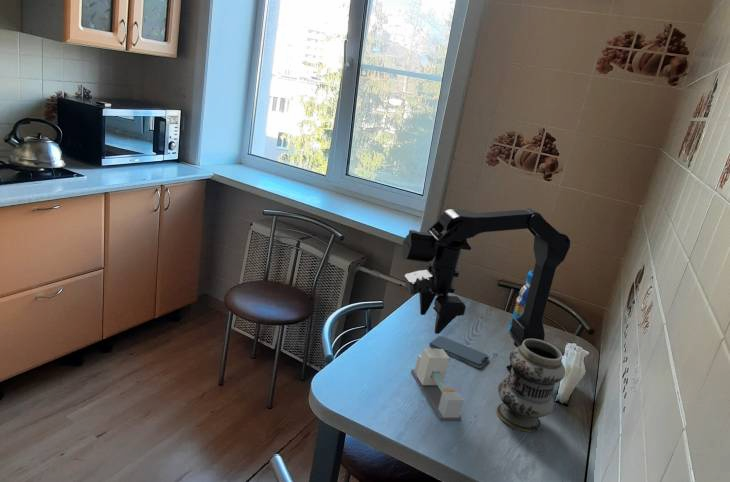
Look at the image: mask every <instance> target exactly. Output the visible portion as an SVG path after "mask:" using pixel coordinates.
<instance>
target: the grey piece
mask: <svg viewBox="0 0 730 482" xmlns="http://www.w3.org/2000/svg"><path fill="white" fill-rule="evenodd" d="M421 356H422V354H418V355H417V359H416V364H415V366H414V369H411V372H410V373H411V375H412V376H413V378H414V380H415V382H416V383H417V384H418V387H419V389H420V390H421V392H422V393H423V395H424V397H425V398H426V400H427V402H428V404H429V406H430V407H431V409H432V410H433V413H434V414H435V416H436V417H437V419H438V421H439V422H443V421H444V422H445V421H446V422H449V421H450V422H453V421H455V422H456V421H458V422H459V421H462V416H461V414H460V413H461V411H462V407H463V404H464V398H463V397H462V395H461V394H460V393H459V391H456V389H455V388H452V387H451V388H449V387H448V385H447V384H446V382H445V381H444V380H443V379H442V378H441V376H440V375H439V373H438V372H436V371H432V375H431V376H432V378H433V379H434V381H435V382H436V384H437V385H422V384H421V382H420V380H419V378H418V377H417V371H418V367H419V363H420V360H421Z"/></svg>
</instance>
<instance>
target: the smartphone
mask: <svg viewBox="0 0 730 482" xmlns="http://www.w3.org/2000/svg"><path fill="white" fill-rule="evenodd" d="M429 347H430V348H432V349H443V350H444V351H445V353H446V354H447V355H448V357H451V358H454V359H455V360H458V361H461V362H462V363H465V364H467V365H469V366H472V367H474V368H477V369H481V368H482V367H483V366H484V365H485V364H486V363H487V362H488V361H489V358H490V357H489V355H488V354H487V353H483V352H482V351H479V350H476V349H475V348H472V347H470V346H468V345H465V344H462V343H460V342H458V341H455V340H452V339H450V338H447V337H445V336H443V335H440V336H437V337H436V338H434V339H433V340H432V341H430V342H429Z"/></svg>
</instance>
